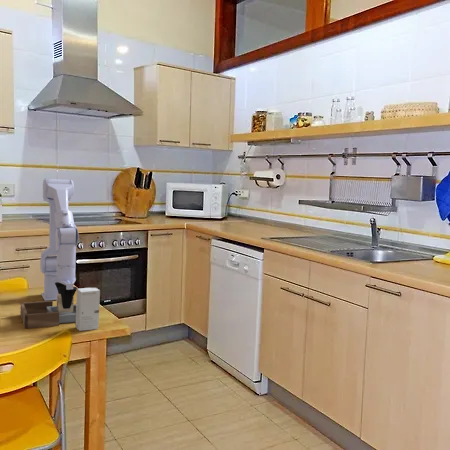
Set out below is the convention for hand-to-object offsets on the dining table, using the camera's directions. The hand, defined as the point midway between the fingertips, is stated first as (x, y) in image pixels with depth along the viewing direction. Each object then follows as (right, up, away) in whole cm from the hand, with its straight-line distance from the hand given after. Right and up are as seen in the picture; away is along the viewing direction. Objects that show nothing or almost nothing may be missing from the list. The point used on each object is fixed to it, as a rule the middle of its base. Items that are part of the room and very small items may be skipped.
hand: (65, 306), depth 156 cm
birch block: (0, -1, 0) cm, 1 cm away
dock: (-7, -4, -3) cm, 9 cm away
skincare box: (+9, -6, -8) cm, 13 cm away
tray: (+1, -4, +1) cm, 4 cm away
